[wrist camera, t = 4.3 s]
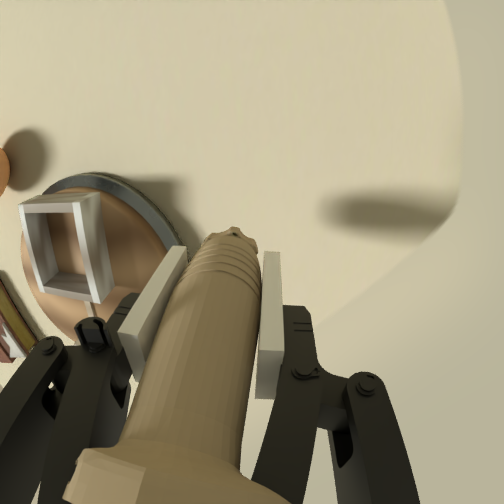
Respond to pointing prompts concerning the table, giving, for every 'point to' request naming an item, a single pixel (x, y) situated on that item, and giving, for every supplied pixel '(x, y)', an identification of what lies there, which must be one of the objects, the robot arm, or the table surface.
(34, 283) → the dial
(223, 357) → the handle
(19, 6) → the table surface
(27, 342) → the book
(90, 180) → the base
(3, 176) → the egg
